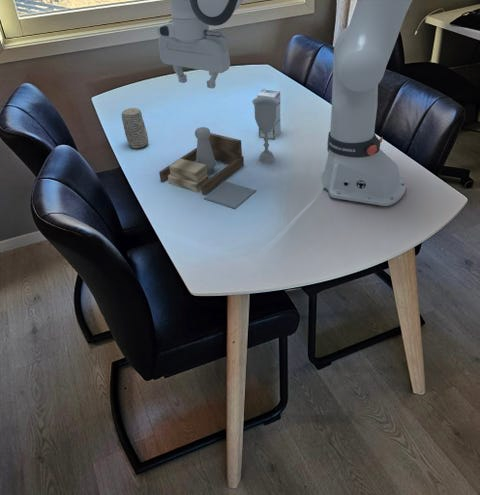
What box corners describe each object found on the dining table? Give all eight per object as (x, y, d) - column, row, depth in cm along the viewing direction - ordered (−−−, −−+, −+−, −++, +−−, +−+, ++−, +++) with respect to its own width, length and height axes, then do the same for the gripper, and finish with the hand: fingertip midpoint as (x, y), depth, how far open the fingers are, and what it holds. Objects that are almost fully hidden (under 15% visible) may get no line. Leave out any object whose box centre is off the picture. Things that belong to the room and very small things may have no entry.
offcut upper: (207, 174, 135) (206, 164, 133) (197, 182, 131) (195, 172, 129) (181, 167, 139) (179, 158, 137) (170, 175, 135) (169, 166, 133)
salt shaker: (213, 176, 139) (209, 133, 131) (194, 175, 140) (189, 133, 132) (218, 166, 143) (214, 124, 135) (200, 165, 144) (195, 124, 136)
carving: (135, 140, 161) (128, 105, 154) (153, 144, 158) (147, 108, 151) (123, 148, 157) (115, 112, 150) (141, 152, 154) (134, 116, 146)
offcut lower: (209, 184, 136) (208, 175, 134) (197, 193, 132) (196, 184, 131) (181, 176, 141) (180, 167, 139) (169, 185, 137) (167, 176, 135)
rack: (244, 165, 143) (242, 140, 138) (205, 195, 130) (202, 168, 126) (201, 154, 150) (198, 130, 145) (160, 181, 138) (156, 155, 133)
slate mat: (255, 191, 130) (255, 190, 130) (235, 209, 124) (234, 207, 124) (225, 182, 135) (225, 181, 135) (204, 199, 129) (204, 197, 129)
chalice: (283, 157, 145) (282, 99, 134) (271, 167, 141) (270, 107, 130) (262, 152, 149) (260, 95, 138) (250, 161, 144) (247, 103, 133)
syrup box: (281, 133, 159) (281, 89, 150) (274, 140, 155) (274, 96, 146) (265, 130, 161) (264, 87, 152) (258, 138, 157) (256, 94, 148)
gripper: (233, 29, 115) (236, 87, 123) (168, 21, 124) (175, 75, 133) (217, 35, 111) (222, 95, 119) (151, 27, 120) (160, 82, 129)
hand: (197, 84), depth 126 cm, fingers open, 8 cm apart
